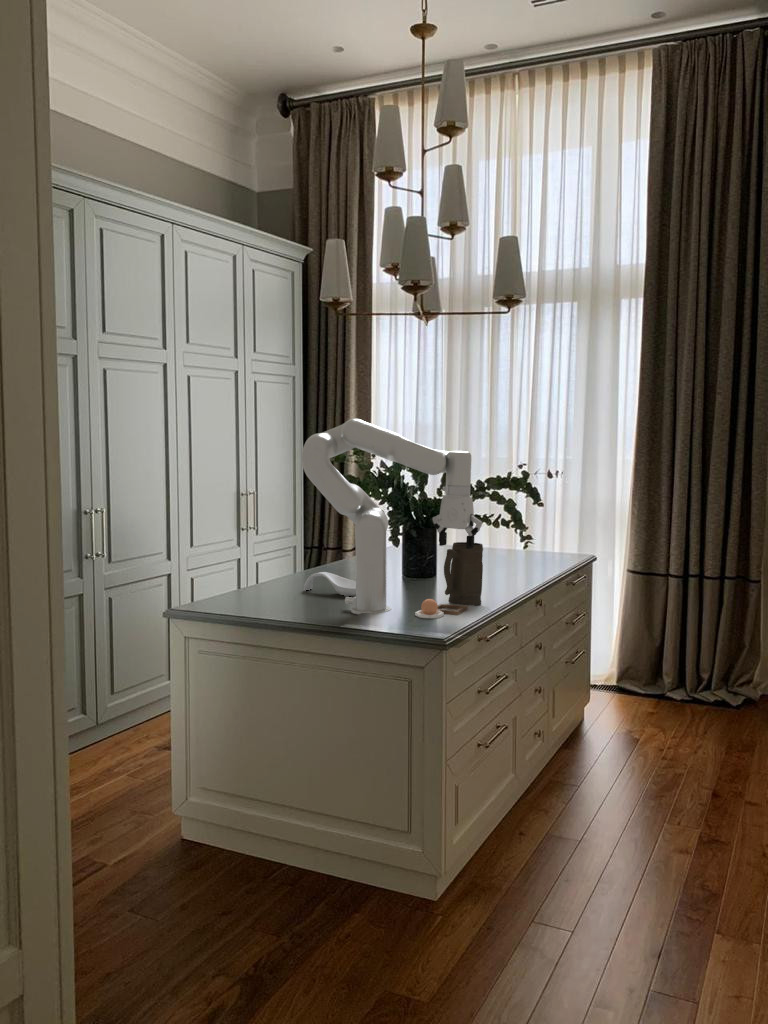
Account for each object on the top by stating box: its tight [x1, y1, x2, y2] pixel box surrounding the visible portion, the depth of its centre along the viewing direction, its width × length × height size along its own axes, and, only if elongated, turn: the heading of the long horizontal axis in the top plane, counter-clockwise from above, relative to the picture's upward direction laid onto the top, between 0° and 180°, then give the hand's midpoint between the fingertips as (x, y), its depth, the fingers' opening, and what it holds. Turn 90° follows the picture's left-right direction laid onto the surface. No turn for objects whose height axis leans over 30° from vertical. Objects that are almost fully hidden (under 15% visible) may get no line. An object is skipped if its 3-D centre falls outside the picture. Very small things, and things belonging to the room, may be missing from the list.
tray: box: [437, 603, 468, 616], centre depth 283 cm, size 9×9×2 cm
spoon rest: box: [303, 571, 356, 597], centre depth 317 cm, size 24×12×7 cm, turn 64°
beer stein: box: [443, 541, 484, 606], centre depth 297 cm, size 15×11×20 cm
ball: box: [420, 598, 439, 615], centre depth 276 cm, size 5×5×5 cm
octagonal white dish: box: [414, 609, 445, 619], centre depth 276 cm, size 8×8×2 cm
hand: (456, 546), depth 282 cm, fingers open, 9 cm apart
